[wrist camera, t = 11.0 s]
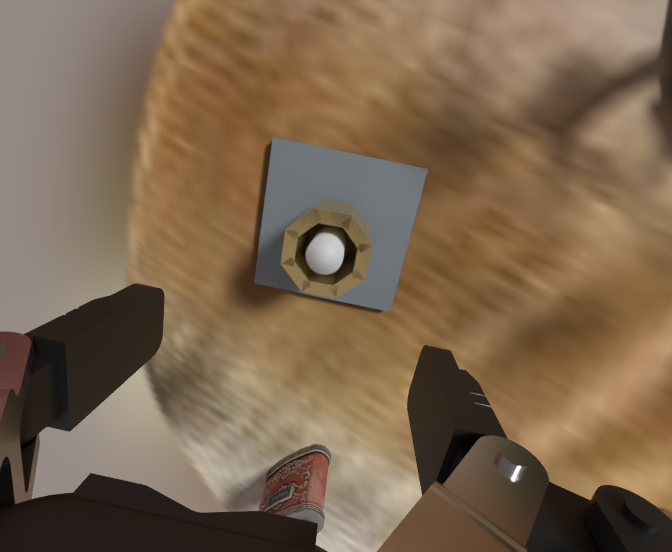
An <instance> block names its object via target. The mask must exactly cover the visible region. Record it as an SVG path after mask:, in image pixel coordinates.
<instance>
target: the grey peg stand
mask: <svg viewBox="0 0 672 552" xmlns="http://www.w3.org/2000/svg"><path fill="white" fill-rule="evenodd" d="M427 171H428V169H426V168H421V167H416V166H411V165H406V164H401V163H396V162H392V161H387V160H382V159H377V158H372V157H367V156H362V155H358V154H353V153H348V152H343V151H338V150H333V149H328V148H323V147H319V146H314V145H309V144H304V143H299V142H294V141H289V140H285V139H280V138H275V137H273V139H272V146H271V154H270V162H269V170H268V177H267V185H266V193H265V201H264V208H263V216H262V224H261V232H260V239H259V247H258V255H257V263H256V270H255V278H254V284H259V285H264V286H269V287H273V288H278V289H283V290H288V291H292V292H297V293H302V294H307V295H312V296H316V297H321V298H326V299H331V300H335V301H340V302H345V303H350V304H355V305H359V306H364V307H369V308H374V309H378V310H383V311H388V312H390V311H391V307H392V303H393V299H394V295H395V292H396V288H397V284H398V280H399V277H400V273H401V269H402V265H403V262H404V258H405V254H406V250H407V247H408V243H409V239H410V235H411V232H412V228H413V224H414V220H415V217H416V213H417V209H418V205H419V201H420V198H421V194H422V190H423V186H424V183H425V179H426V175H427ZM325 198H327V199H332V200H337V201H343V202H348V203H353V204H355V206H356V207H357V209H358V210H359V212H360V213H361V215H362V216H363V218H364V219H365V221H366V222H367V224H368V225H369V227H370V229H371V238H372V250H371V255H370V259H369V264H368V268H367V273H366V278H365V280H364V281H363V282H361V283H360V284H358V285H356V286H355V287H353V288H352V289H350V290H348V291H347V292H345V293H344V294H342V295H340V296H339V297H337V298H331V297H326V296H321V295H315V294H310V293H305V292H301V290H300V289H299V288H298V286H297V285H296V284H295V282H294V281H293V280H292V278H291V277H290V276H289V274H288V273H287V272H286V270H285V269H284V268H283V266H282V265H281V258H282V250H283V243H284V235H285V229H286V228H287V227H288V226H290V225H291V224H292V223H293V222H294V221H295V220H297V219H298V218H299V217H300V216H301V215H302V214H304V213H305V212H307V211H308V210H309V209H311V208H312V207H314V206H315V205H316V204H318V203H319V202H321V201H322V200H324V199H325ZM309 241H310V244H309V246H308V248H307V250H306V261H307V264H308V266H309V267H310V268H311V269H312V270H313V271H314V272H316V273H318V274H323V275H327V274H331V273H334V272H335V271H337V270H338V269H339V268H340V266H341V264H342V262H343V257H344V256H346V255H347V254H349V253H350V252H352V251H353V250H355V247H356V245H355V244H354V242H353V241H352V240H351V238H350V237H349V235H348V234H347V232H346V231H345V229H344V228H341V227H336V226H331V225H325V224H320V223H318V224H316V225H315V226H313V227H312V228H311V229H310V235H309Z"/></svg>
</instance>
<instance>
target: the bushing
mask: <svg viewBox="0 0 672 552" xmlns="http://www.w3.org/2000/svg"><path fill="white" fill-rule="evenodd" d="M318 223H320V224H325V225H331V226H336V227H341V228H344V229H345V231H346V232H347V234H348V235H349V237H350V238H351V240H352V241H353V242H354V244H355V245H356V247H355V250H353V251H352V252H350V253H349V254H347V255H346V256H344V257H343V262H342V264H341V266H340V268H339V269H338V270H337V271H335V272H334V273H331V274H327V275H323V274H318V273H316V272H314V271H313V270H312V269H311V268H310V267H309V266H308V264H307V261H306V250H307V248H308V246H309V244H310V241H309V235H310V229H311V228H312V227H313V226H315V225H316V224H318ZM371 250H372V238H371V229H370V227H369V225H368V224H367V222H366V221H365V219H364V218H363V216H362V215H361V213H360V212H359V210H358V209H357V207H356V206H355V204H353V203H348V202H343V201H337V200H332V199H327V198H325V199H324V200H322V201H321V202H319V203H318V204H316V205H315V206H314V207H312V208H311V209H309V210H308V211H307V212H305V213H304V214H302V215H301V216H300V217H299V218H298V219H297V220H295V221H294V222H293V223H292V224H291V225H290V226H288V227H287V228H286V229H285V235H284V243H283V250H282V258H281V265H282V266H283V268H284V269H285V270H286V272H287V273H288V274H289V276H290V277H291V278H292V280H293V281H294V282H295V284H296V285H297V286H298V288H299V289H300V290H301V292H305V293H310V294H315V295H321V296H326V297H331V298H337V297H339V296H340V295H342V294H344V293H345V292H347V291H348V290H350V289H352V288H353V287H355V286H356V285H358V284H360V283H361V282H363V281H364V280H365V278H366V273H367V268H368V264H369V259H370V255H371Z"/></svg>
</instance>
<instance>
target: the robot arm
mask: <svg viewBox="0 0 672 552" xmlns="http://www.w3.org/2000/svg"><path fill="white" fill-rule="evenodd" d="M163 318H164V292H163V290H162V289H160V288H156V287H151V286H146V285H142V284H137V283H135V284H132V285H130V286H128V287H126V288H124V289H122V290H120V291H118V292H117V293H115V294H113V295H110V296H106V297H103V298H98V299H94V300H92V301H90V302H88V303H86V304H84V305H82V306H80V307H79V308H78V309H74V310H72V311H70V312H68V313H66V315H62V316H60V317H58V318H56V319H54V320H52V321H50V322H48V323H46V324H44V325H42V326H40V327H38V328H36V329H34V330H32V331H30V332H28V333H26V334H20V333H15V332H0V552H327V551H326V550H324V549H322V548H321V547H319V546H317V545H315V544H316V536H317V529H318V523H314V522H310V521H305V520H301V519H296V518H291V517H287V516H282V515H278V514H273V513H269V512H264V511H245V512H214V513H199V512H195V511H192V510H190V509H188V508H187V507H185V506H183V505H181V504H179V503H177V502H175V501H174V500H172V499H170V498H168V497H166V496H165V495H163V494H161V493H159V492H157V491H155V490H153V489H152V488H150V487H148V486H146V485H142V484H137V483H133V482H128V481H124V480H119V479H114V478H110V477H105V476H101V475H96V474H92V473H90V475H89V476H88V477H87V478H86V479H85V480H84V481H83V482H82V484H81V485H80V486H79V487H78V488H77V489H76V490H75V491H74V492H73V493H64V494H56V495H49V496H44V497H39V498H35V499H32V491H33V485H34V479H35V472H36V465H37V458H38V451H39V445H40V441H39V432H41V431H42V430H43V429H44V428H45V427H52V428H56V429H61V430H65V431H71V430H72V429H73V428H74V427H75V426H76V425H78V424H79V423H80V422H81V421H82V420H83V419H84V418H85V417H86V416H88V415H89V414H90V413H91V412H92V411H93V410H94V409H95V408H96V407H97V406H99V405H100V404H101V403H102V402H103V401H104V400H105V399H106V398H107V397H108V396H110V394H112V393H113V392H114V391H115V390H116V389H117V388H118V387H120V386H121V385H122V384H123V383H124V382H125V381H126V380H127V379H128V378H129V377H130V376H132V375H133V374H134V373H135V372H136V371H137V370H138V369H139V368H141V367H142V366H143V365H144V364H145V363H146V362H147V361H148V360H149V359H151V358H152V357H153V356H154V355H155V354H156V352H157V351H158V349H159V347H160V344H161V341H162V337H163ZM484 395H485V394H484V392H483V390H482V389H481V387H480V385H479V383H478V382H477V381H476V380H475V379H474V378H473V377H472V376H471V375H470V374H469V373H468V372H467V371H466V370H461V369H459V368H458V365H457V363H456V361H455V359H454V357H453V355H452V352H451V351H450V350H446V349H441V348H436V347H431V346H427V345H425V346H424V347H423V348H422V351H421V353H420V357H419V360H418V363H417V366H416V370H415V373H414V376H413V379H412V383H411V386H410V389H409V394H408V402H407V410H408V416H409V422H410V427H411V433H412V439H413V445H414V450H415V456H416V462H417V468H418V474H419V479H420V485H421V491H422V497H421V498H420V500H419V501H418V502H417V503H416V504H415V506H414V507H413V508H412V509H411V511H410V512H409V513H408V514H407V515H406V517H405V518H404V519H403V520H402V522H401V523H400V524H399V525H398V526H397V528H396V529H395V530H394V531H393V532H392V534H391V535H390V536H389V537H388V539H387V540H386V541H385V542H384V543H383V545H382V546H381V547H380V548H379V550H378V551H377V552H672V512H670V511H667V510H663V509H658V508H657V507H656V506H654V505H653V504H651V503H650V502H648V501H647V500H645V499H644V498H642V497H640V496H639V495H637V494H635V493H633V492H631V491H628V490H626V489H623V488H620V487H617V486H612V485H603V486H600V487H598V489H597V490H596V492H595V493H594V495H593V497H592V499H591V501H590V500H588V499H586V498H584V497H582V496H579V495H577V494H575V493H573V492H570V491H568V490H566V489H564V488H561V487H559V486H557V485H555V484H553V483H551V482H549V478H548V474H547V472H546V470H545V468H544V467H543V465H542V464H541V462H540V461H539V460H538V459H537V458H536V457H535V456H534V455H533V454H532V453H530V452H529V451H528V450H526V449H525V448H524V447H522V446H520V445H519V444H517V443H515V442H513V441H511V440H509V439H508V438H507V437H506V435H505V433H504V431H503V429H502V427H501V425H500V423H499V421H498V419H497V417H496V415H495V413H494V412H493V410H492V408H490V404H489V402H488V400H487V398H486V397H484Z"/></svg>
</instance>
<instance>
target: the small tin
mask: <svg viewBox="0 0 672 552" xmlns="http://www.w3.org/2000/svg"><path fill="white" fill-rule="evenodd" d="M330 462H331V453H330V451H329V449H328V448H327V447H325V446H323V445H321V444H314V445H311V446H308V447H305V448H303V449H300V450H298V451H296V452H294V453H292V454H290V455H288V456H287V457H285V458H284V459H283V460H281V461H280V462H278V463H277V464H276V465H275V466H274V467H273V468H272V469H271V470H270V471H269V472H268V474H267V478H266V487H265V491H264V494H263V497H262V501H261V504H260V507H259V511H264V512H269V513H273V514H278V515H282V516H287V517H291V518H296V519H301V520H305V521H310V522H314V523H318V529H317V533H318V532H320V531H321V530H322V528H323V526H324V517H325V515H324V512H323V507H324V498H325V489H326V481H327V472H328V467H329V466H330Z"/></svg>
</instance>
